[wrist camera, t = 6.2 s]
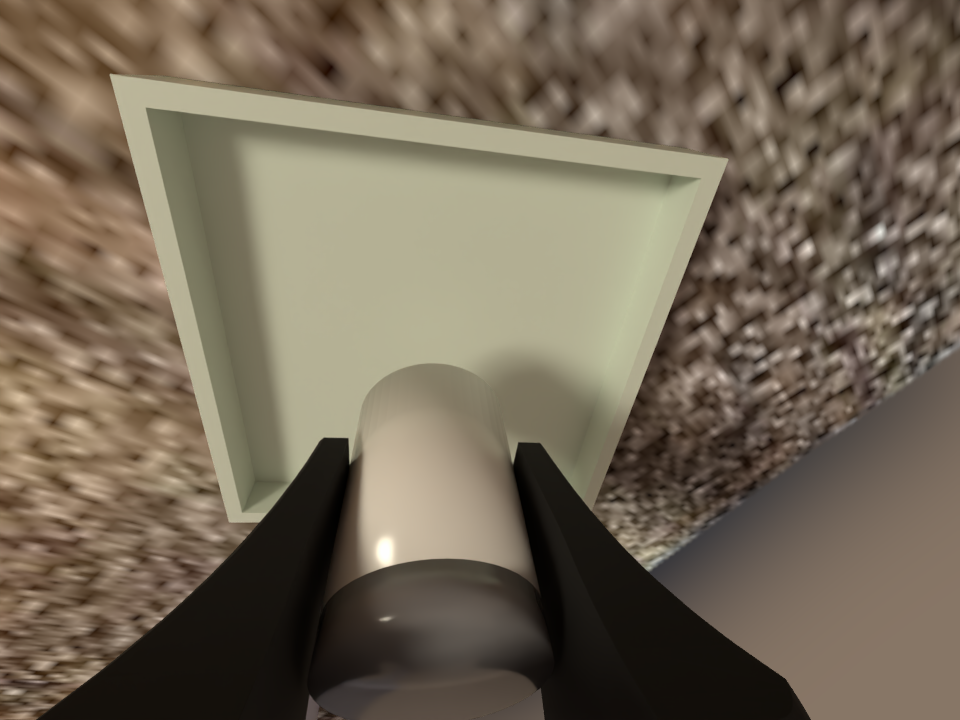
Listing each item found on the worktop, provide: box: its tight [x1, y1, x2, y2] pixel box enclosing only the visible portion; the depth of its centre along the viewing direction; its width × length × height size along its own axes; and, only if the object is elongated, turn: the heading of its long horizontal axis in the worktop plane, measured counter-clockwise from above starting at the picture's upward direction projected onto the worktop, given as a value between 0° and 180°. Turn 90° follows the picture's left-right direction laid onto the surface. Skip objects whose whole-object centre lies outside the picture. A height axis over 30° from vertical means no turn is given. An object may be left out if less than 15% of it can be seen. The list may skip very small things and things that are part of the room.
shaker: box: [307, 363, 554, 720], centre depth 11 cm, size 4×4×7 cm
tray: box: [110, 74, 728, 522], centre depth 17 cm, size 16×16×2 cm
